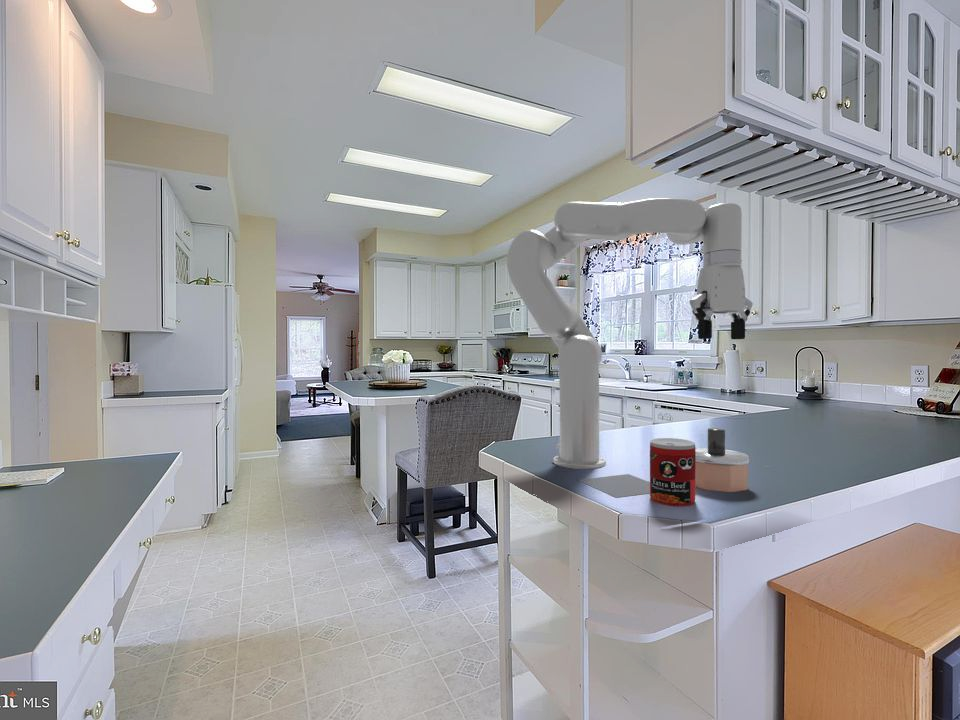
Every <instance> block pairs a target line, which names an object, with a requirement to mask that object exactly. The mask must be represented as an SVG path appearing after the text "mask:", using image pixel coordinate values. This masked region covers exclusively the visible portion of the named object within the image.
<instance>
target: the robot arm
mask: <svg viewBox="0 0 960 720" xmlns="http://www.w3.org/2000/svg"><path fill="white" fill-rule="evenodd" d="M742 216H743V215H742V207H741V206H740V205H739V204H737V203H733V202H724V203H718V204H714V205H711V206H709V207H708V208H706V209H705V208H704V207H703V205H702V204H700V203H699V202H698V201H695V200H693V199H687V198H673V197H671V198H670V197H669V198H668V197H667V198H666V197H662V198H661V197H657V198H656V197H655V198H645V199H640V200H635V201H634V200H632V201H628V202H624V203H623V202H622V203H621V202H618V203H617V202H595V201H594V202H591V201H568V202H565V203H563V204H561V205H560V206H559V207H558V208H557V210H556V211H555V214H554V219H553V220H554V221H553V222H554V226H553V227H552V228H551V229H550V230H548V231H547V232H545V234H543V233H542V232H540V231H538V230H535V229H526V230H523V231H521V232H520V233H518V234H517V235H516V236H515V237H514V239H513V240H512V241H511V244H510V246H509V248H508V251H507V257H506V269H507V273H508V275H509V279H510V281H511V284H512V285H513V288H514V289H515V290H516V293H517V294H518V296H519V297H520V299H521V300H522V302H523V304H524V305H525V307H526V309H527V310H528V311H529V314H530V315H531V316H532V319H534V321H535V322H536V324H537V326H538V327H539V329H540V331H541V332H542V333H543V334H544V335H546V336H547V337H550V338H551V339H552V341H553V343H554V345H556V347H557V348H558V353H557V365H558V366H557V367H558V378H559V379H558V381H559V442H558V443H557V444H555V445H556V446H555V448H556V449H557V450H558V451H559V452H558V453H559V454H558V455H556V456H554V457H553V458H552V459H553V464H555V465H556V466H559V467H563V468H568V469H575V470H576V469H579V470H590V469H592V470H593V469H594V470H595V469H601V468H603V467H605V466H606V464H607V460H606V459H605V458H604V457H602V456H600V370H599V368H600V367H599V365H600V363H601V361H602V358H603V350H602V347H601V345H600V343H599V342H598V340H597V339H596V337H595V336H594V335H593V333H592V331H591V330H590V329H589V327H588V326H587V325H586V323H585V322H584V320H583V318H582V317H581V316H580V314H579V313H578V312H577V310H576V309H575V308H574V307H573V306H572V305H571V304H569V303H568V302H567V301H566V300H564V298H563V297H562V296H561V294H560V293H559V292H558V291H557V289H556V287H555V286H554V284H553V282H552V281H551V280H550V278H549V277H548V276H547V274H546V272H545V271H546V270H549V269H551V268H552V267H554V266H556V265H557V264H558V263H559V262H560V261H562V260H563V259H564V258H566V257H567V256H569V255H570V254H571V253H573V251H575V250H576V249H577V248H579V247H580V246H581V245H582V244H583V243H585V242H586V241H587V240H602V241H603V240H605V241H622V240H625V239H627V238H630V237H633V236H635V235H639V234H650V233H651V234H653V233H655V234H666V236H667V237H668V240H669V241H670V242H671V243H673V244H675V245H677V246H678V245H680V246H685V245H691V244H696V243H699V242H702V243H703V247H702V248H703V249H702V250H703V251H702V252H703V255H702V256H703V257H702V258H703V261H702V263H703V265H702V267H701V268H700V270H699V274H698V279H697V287H696V295H695V297H693V298H691V299H690V300H689V305H690V308H691V310H692V311H691V312H692V313H693V315H694V316H695V321H696V322H697V338H698V340H710V339H712V337H713V320H712V319H711V317H712V316H713V314H714V315H715V314H717V315H719V314H721V315H722V314H723V315H724V314H729V316H730V318H731V320H732V321H731V322H730V339H731V340H745V339H746V322H747V321H748V317H749V316H750V314H751V310H752V307H753V305H754V304H753V302H752V300H750V299H748V298H747V297H746V286H745V277H744V271H743V267H742V261H743V260H742V231H743V230H742V222H743V220H742V219H743V218H742Z"/></svg>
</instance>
